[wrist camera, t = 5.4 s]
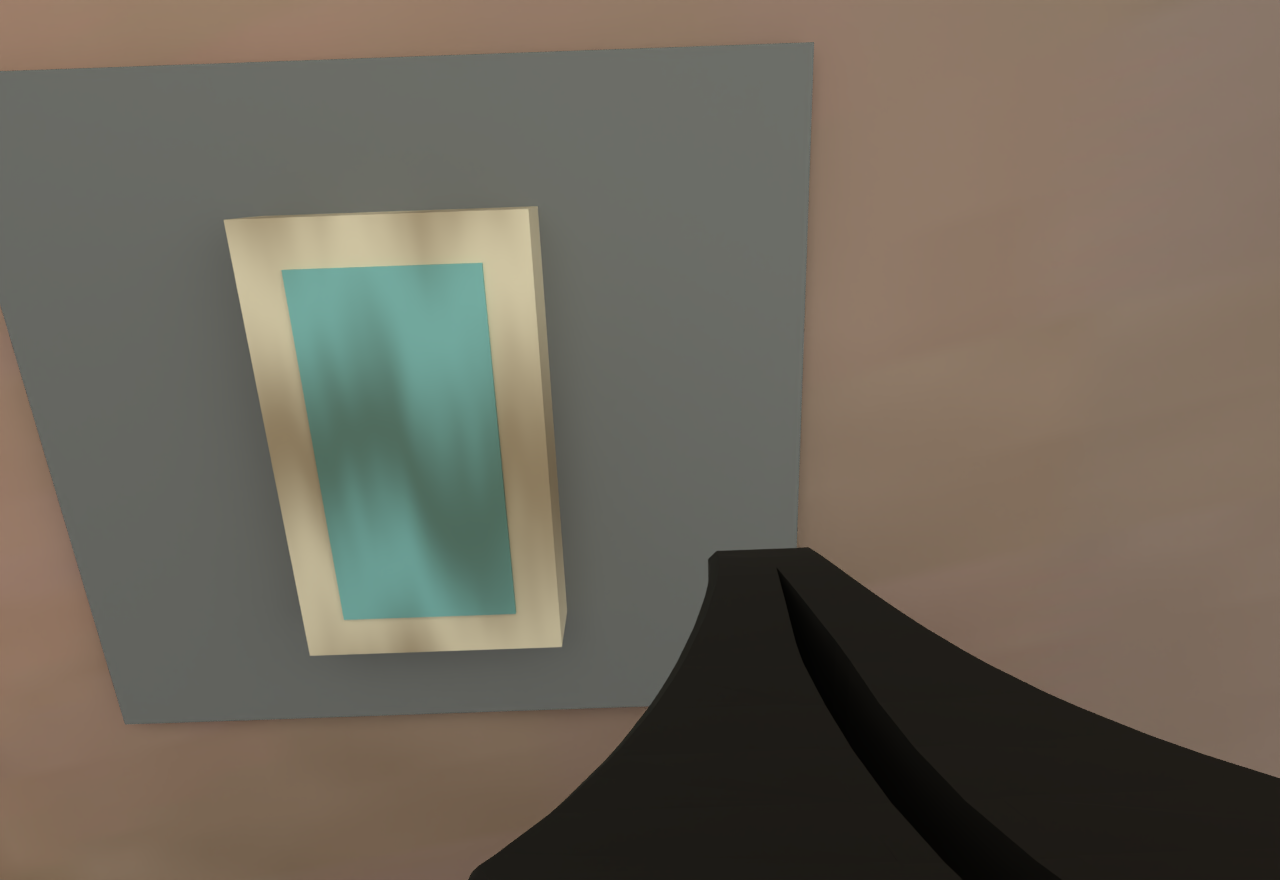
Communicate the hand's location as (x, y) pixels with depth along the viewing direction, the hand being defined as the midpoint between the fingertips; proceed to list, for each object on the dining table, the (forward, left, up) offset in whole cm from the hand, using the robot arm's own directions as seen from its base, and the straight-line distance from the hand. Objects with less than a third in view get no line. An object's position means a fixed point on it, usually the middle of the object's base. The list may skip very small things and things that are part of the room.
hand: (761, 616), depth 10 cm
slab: (0, +4, -8) cm, 9 cm away
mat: (0, +7, -9) cm, 11 cm away
